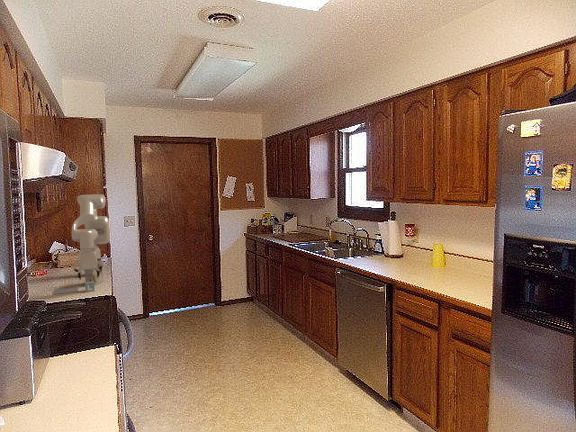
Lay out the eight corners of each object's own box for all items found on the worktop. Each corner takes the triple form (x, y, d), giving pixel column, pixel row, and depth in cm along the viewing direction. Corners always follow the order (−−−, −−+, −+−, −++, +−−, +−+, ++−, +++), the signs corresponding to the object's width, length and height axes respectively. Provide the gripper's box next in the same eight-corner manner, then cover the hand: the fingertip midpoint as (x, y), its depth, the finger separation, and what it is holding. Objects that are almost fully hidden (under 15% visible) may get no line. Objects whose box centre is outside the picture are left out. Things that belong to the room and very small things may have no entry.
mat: (54, 289, 242) (54, 289, 242) (78, 286, 248) (78, 286, 248) (53, 294, 231) (53, 294, 231) (78, 291, 237) (78, 291, 237)
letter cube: (85, 290, 239) (84, 282, 239) (94, 289, 242) (93, 281, 241) (85, 292, 235) (85, 284, 234) (94, 291, 237) (94, 282, 237)
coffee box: (94, 281, 261) (93, 258, 259) (103, 281, 259) (101, 258, 258) (85, 285, 252) (83, 260, 250) (93, 285, 251) (92, 261, 249)
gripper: (102, 248, 244) (104, 275, 245) (71, 251, 235) (73, 278, 237) (103, 249, 237) (105, 277, 238) (71, 252, 229) (73, 281, 230)
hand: (89, 278), depth 237 cm, fingers open, 9 cm apart
